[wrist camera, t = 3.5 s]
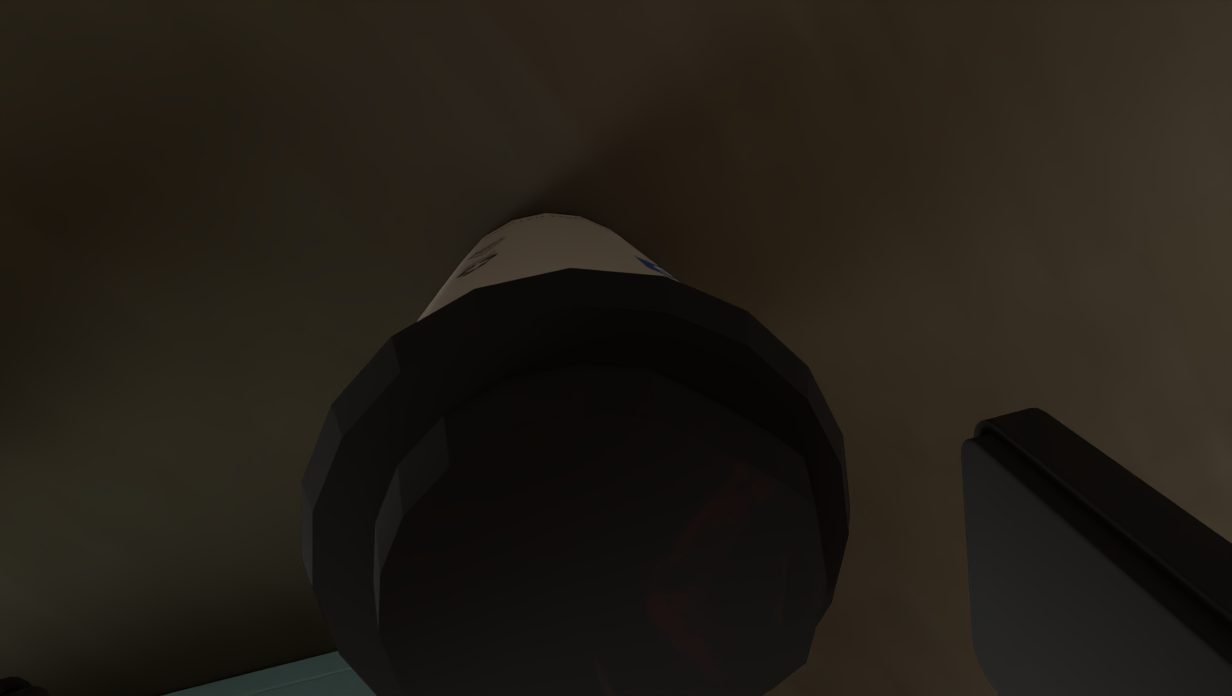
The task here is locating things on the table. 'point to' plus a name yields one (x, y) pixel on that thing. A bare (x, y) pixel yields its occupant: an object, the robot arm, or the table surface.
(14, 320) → the table surface
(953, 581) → the table surface
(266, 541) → the table surface
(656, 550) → the coffee cup
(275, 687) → the open box
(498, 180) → the table surface
